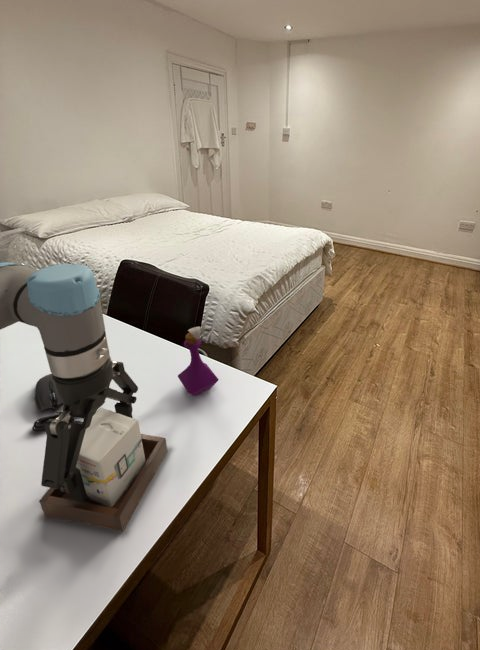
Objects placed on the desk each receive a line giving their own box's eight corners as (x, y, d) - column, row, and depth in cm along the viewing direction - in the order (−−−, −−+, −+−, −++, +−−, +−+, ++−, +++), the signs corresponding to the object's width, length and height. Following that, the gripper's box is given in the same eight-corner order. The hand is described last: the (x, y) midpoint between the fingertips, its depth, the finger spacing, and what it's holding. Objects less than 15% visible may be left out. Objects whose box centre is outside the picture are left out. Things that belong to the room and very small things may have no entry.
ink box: (71, 492, 56) (56, 445, 51) (111, 449, 63) (101, 405, 59) (111, 510, 54) (98, 462, 49) (147, 463, 61) (139, 418, 57)
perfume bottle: (178, 385, 81) (171, 325, 74) (206, 373, 85) (202, 315, 79) (190, 404, 75) (183, 341, 69) (219, 390, 80) (216, 329, 73)
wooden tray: (44, 515, 53) (38, 501, 52) (103, 440, 66) (100, 426, 65) (123, 531, 52) (119, 516, 50) (167, 451, 65) (165, 437, 63)
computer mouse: (94, 365, 86) (91, 353, 84) (101, 410, 73) (97, 397, 71) (36, 383, 79) (32, 370, 78) (32, 436, 66) (27, 422, 64)
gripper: (33, 437, 37) (70, 545, 46) (150, 322, 59) (160, 409, 68) (-24, 426, 38) (22, 534, 46) (112, 317, 60) (127, 403, 68)
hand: (104, 460), depth 57 cm, fingers open, 12 cm apart
